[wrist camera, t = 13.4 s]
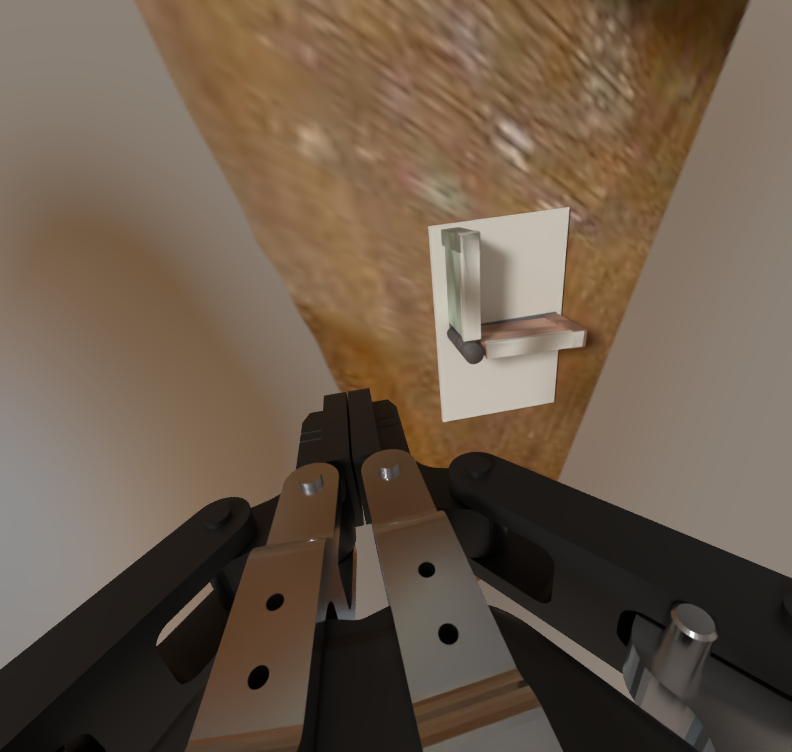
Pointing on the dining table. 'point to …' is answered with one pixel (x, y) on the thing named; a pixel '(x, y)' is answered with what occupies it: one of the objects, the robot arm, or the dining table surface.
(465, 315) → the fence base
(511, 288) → the card
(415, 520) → the robot arm
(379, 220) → the dining table surface
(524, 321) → the fence panel
